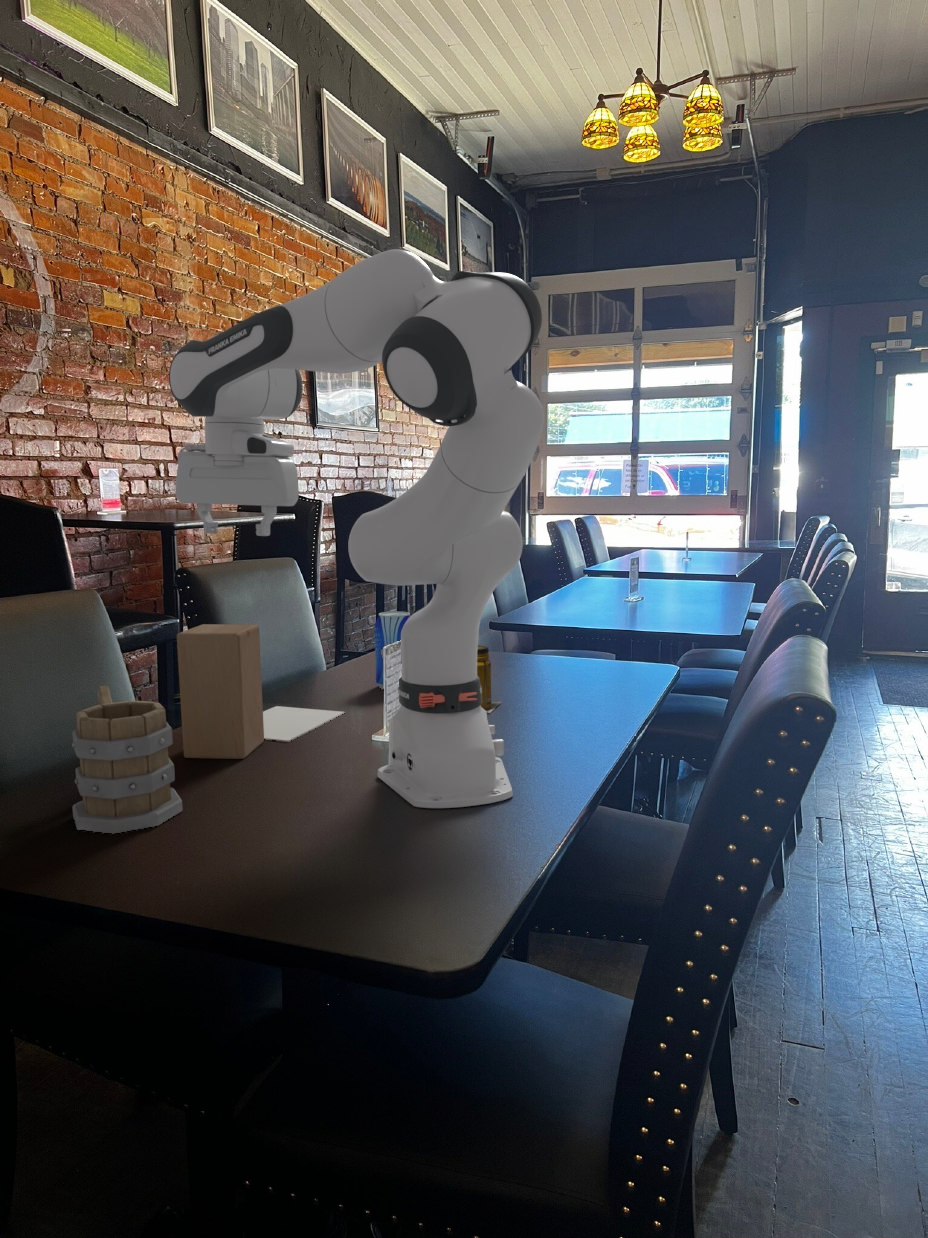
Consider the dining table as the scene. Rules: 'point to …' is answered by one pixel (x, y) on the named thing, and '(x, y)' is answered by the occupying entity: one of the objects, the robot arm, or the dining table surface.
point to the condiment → (485, 678)
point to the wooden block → (220, 690)
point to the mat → (293, 722)
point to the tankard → (123, 766)
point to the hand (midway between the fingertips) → (236, 534)
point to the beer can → (387, 636)
